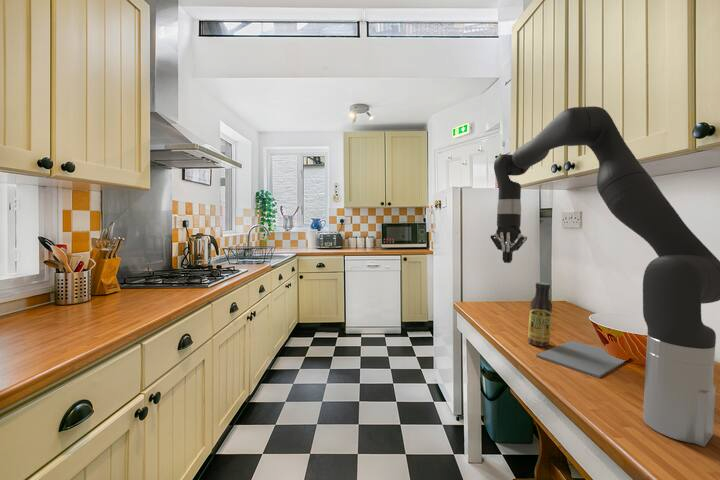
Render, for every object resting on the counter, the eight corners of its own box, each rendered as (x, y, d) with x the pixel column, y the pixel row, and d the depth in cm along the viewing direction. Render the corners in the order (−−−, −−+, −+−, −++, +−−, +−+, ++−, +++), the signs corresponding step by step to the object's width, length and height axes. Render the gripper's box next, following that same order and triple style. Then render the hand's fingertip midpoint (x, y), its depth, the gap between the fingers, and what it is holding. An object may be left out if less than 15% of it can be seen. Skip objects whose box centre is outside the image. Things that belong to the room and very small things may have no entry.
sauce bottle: (527, 345, 107) (529, 283, 106) (527, 339, 112) (529, 280, 111) (550, 349, 104) (553, 285, 103) (550, 342, 109) (552, 282, 108)
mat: (631, 358, 97) (631, 356, 97) (598, 377, 84) (599, 375, 84) (571, 342, 110) (571, 340, 110) (536, 356, 98) (536, 354, 98)
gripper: (485, 213, 119) (484, 261, 120) (521, 212, 108) (519, 265, 109) (498, 213, 123) (496, 260, 124) (533, 212, 112) (531, 264, 113)
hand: (507, 262), depth 117 cm, fingers closed
